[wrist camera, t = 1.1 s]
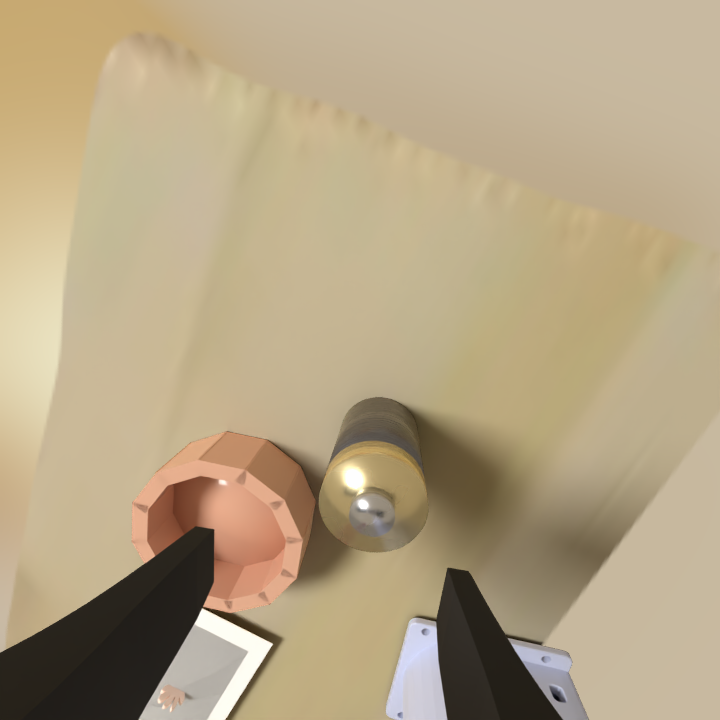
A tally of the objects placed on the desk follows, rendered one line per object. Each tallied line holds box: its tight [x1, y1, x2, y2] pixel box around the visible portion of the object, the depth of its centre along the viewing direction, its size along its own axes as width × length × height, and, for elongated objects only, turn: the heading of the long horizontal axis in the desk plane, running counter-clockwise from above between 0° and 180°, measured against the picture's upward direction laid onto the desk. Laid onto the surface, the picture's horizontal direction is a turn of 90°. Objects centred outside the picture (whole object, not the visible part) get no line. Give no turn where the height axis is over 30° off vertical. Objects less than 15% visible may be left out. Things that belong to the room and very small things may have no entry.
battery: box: [319, 397, 428, 552], centre depth 16 cm, size 4×4×7 cm
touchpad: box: [139, 608, 273, 720], centre depth 24 cm, size 8×15×2 cm, turn 152°
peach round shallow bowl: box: [132, 432, 316, 613], centre depth 19 cm, size 9×9×3 cm
